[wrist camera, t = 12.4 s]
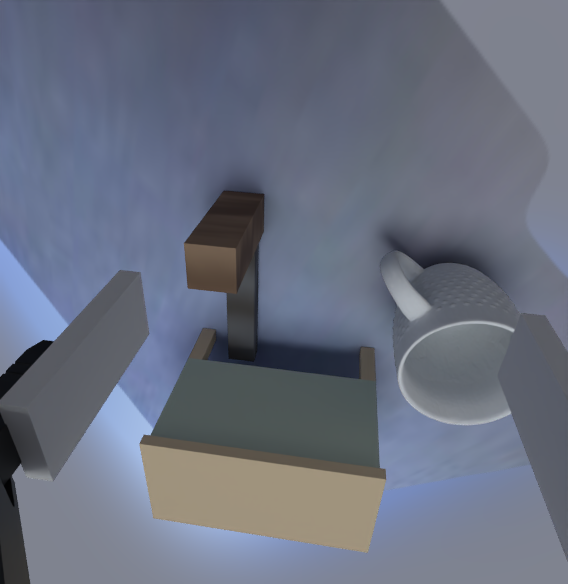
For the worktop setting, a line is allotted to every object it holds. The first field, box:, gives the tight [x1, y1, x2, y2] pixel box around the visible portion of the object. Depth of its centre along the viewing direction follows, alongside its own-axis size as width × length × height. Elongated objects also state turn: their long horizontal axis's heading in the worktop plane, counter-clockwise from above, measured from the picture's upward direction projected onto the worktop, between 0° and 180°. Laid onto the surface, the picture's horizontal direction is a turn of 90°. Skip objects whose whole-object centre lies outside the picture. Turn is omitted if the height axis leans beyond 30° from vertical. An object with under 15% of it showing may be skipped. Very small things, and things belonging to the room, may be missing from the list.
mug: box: [380, 251, 520, 425], centre depth 41 cm, size 15×11×13 cm
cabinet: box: [140, 328, 386, 552], centre depth 48 cm, size 12×21×18 cm, turn 88°
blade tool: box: [184, 191, 264, 362], centre depth 45 cm, size 20×4×12 cm, turn 178°
